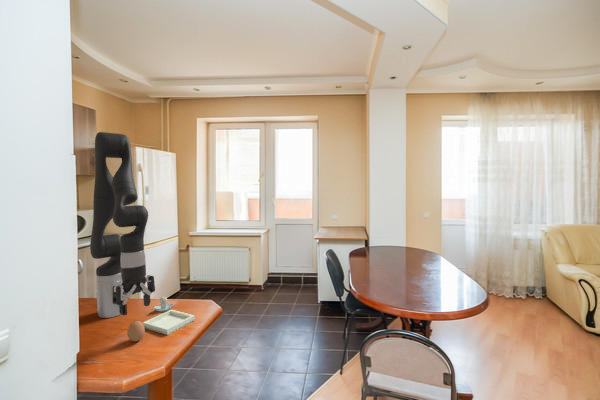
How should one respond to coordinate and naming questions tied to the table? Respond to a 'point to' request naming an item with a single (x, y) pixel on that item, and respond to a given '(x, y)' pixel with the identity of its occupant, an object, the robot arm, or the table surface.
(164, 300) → the pacifier
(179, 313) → the dish
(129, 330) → the egg
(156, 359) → the table surface
